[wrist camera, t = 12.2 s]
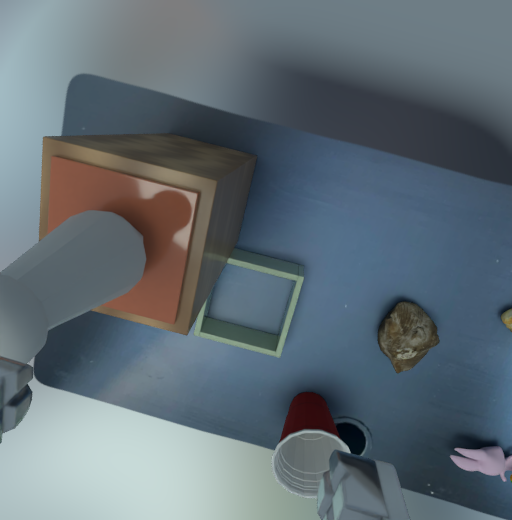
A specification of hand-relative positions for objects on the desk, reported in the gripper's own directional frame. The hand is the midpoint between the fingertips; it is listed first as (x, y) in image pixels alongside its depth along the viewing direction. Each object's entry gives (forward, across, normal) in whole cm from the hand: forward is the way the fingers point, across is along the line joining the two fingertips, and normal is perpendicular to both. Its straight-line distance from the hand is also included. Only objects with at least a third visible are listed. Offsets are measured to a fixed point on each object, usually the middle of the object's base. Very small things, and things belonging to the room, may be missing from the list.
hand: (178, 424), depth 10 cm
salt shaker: (+17, +9, +2) cm, 19 cm away
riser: (+43, +9, +2) cm, 44 cm away
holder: (+43, -1, +16) cm, 46 cm away
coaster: (+17, +9, +2) cm, 20 cm away
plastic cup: (+43, -14, +32) cm, 56 cm away
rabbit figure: (+43, -44, +31) cm, 69 cm away
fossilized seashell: (+43, -23, +15) cm, 51 cm away
